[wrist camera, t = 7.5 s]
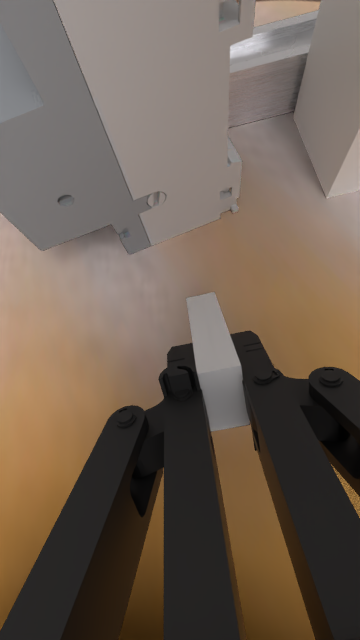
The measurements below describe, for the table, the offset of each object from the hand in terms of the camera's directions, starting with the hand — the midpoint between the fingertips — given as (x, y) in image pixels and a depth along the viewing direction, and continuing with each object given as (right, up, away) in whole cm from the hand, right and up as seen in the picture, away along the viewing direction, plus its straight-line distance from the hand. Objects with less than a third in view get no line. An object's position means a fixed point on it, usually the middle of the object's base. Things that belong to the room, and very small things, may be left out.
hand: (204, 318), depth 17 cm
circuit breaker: (-5, +8, +7) cm, 12 cm away
